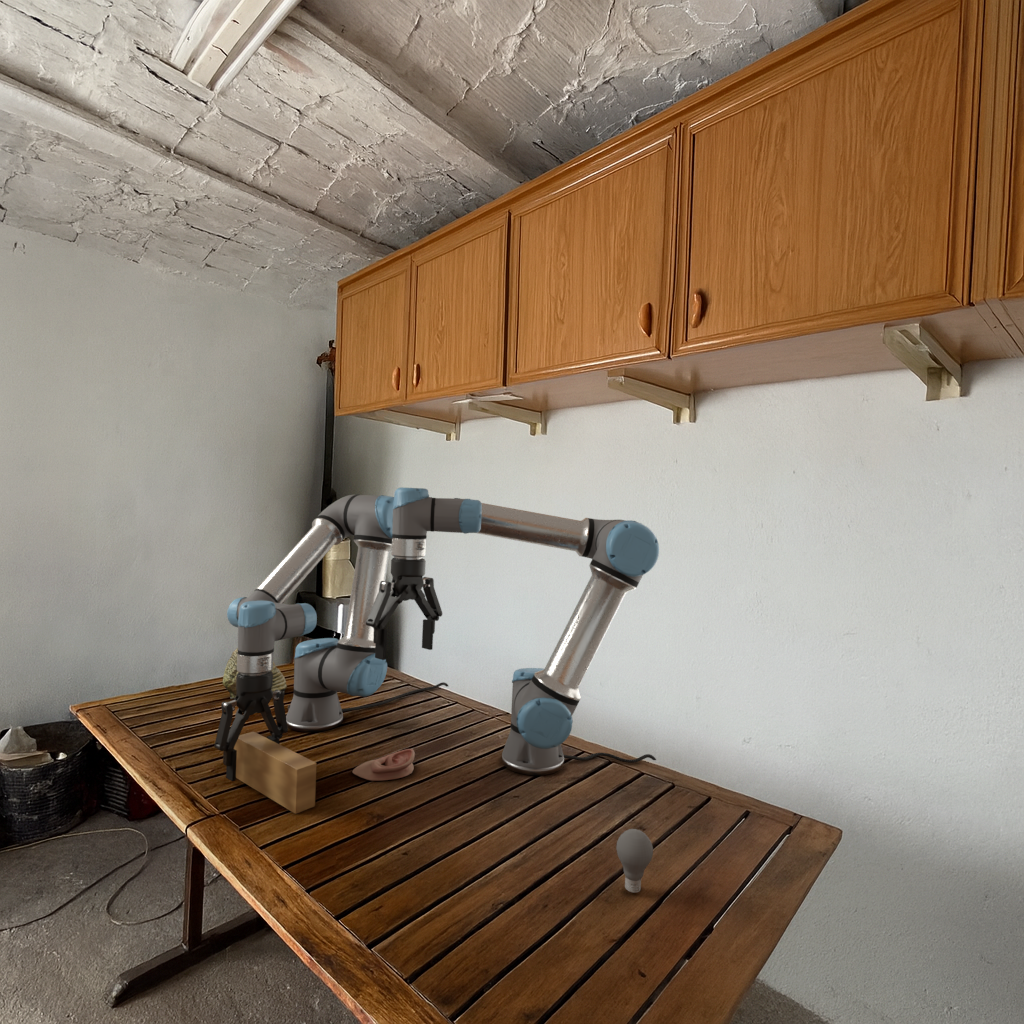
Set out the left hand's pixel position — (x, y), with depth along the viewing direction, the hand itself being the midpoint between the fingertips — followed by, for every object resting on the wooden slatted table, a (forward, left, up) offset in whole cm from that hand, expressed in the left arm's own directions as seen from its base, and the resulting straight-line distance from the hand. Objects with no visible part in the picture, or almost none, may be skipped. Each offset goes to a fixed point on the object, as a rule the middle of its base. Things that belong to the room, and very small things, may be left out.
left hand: (251, 772), depth 141 cm
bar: (0, +9, -1) cm, 9 cm away
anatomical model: (-23, +18, -1) cm, 29 cm away
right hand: (-20, +26, +28) cm, 44 cm away
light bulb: (-21, +83, -1) cm, 86 cm away
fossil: (-31, -53, -1) cm, 61 cm away
